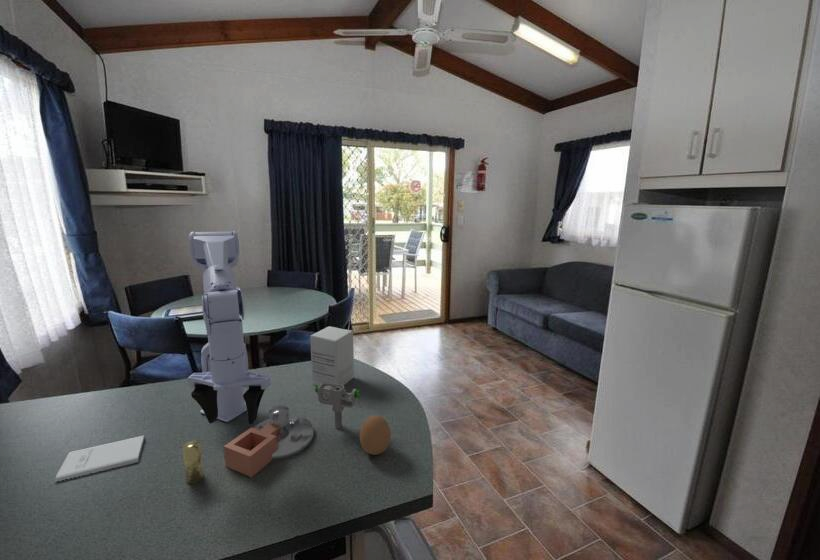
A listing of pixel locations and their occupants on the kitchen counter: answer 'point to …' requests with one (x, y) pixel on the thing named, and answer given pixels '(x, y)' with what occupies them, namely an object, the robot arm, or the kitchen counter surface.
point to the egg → (375, 435)
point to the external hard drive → (101, 458)
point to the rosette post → (288, 432)
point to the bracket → (250, 459)
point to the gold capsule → (192, 461)
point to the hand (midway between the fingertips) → (233, 420)
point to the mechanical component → (336, 399)
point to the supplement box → (332, 356)
